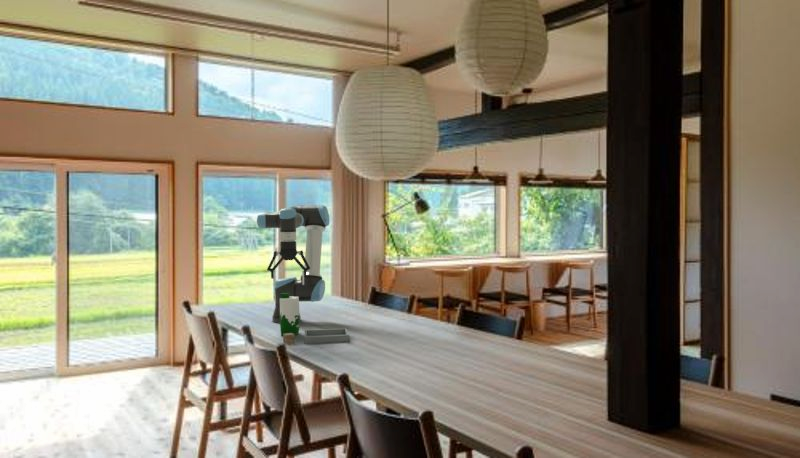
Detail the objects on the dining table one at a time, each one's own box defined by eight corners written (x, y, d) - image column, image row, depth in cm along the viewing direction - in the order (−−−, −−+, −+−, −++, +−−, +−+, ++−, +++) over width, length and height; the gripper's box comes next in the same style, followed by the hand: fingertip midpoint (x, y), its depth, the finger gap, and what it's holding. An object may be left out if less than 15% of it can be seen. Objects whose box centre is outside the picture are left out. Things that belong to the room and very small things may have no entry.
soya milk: (282, 332, 299) (281, 292, 298) (301, 332, 299) (300, 292, 298) (278, 336, 290) (277, 294, 290) (297, 336, 290) (296, 294, 289)
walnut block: (283, 342, 278) (283, 333, 277) (291, 341, 279) (291, 332, 279) (286, 344, 274) (285, 335, 274) (294, 343, 276) (294, 334, 276)
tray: (304, 336, 290) (304, 330, 290) (346, 334, 293) (346, 328, 293) (304, 343, 274) (304, 337, 274) (349, 341, 277) (349, 335, 277)
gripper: (261, 241, 287) (261, 286, 288) (314, 240, 291) (315, 285, 292) (262, 241, 295) (263, 284, 295) (314, 240, 299) (315, 283, 299)
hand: (289, 285), depth 294 cm, fingers open, 13 cm apart
